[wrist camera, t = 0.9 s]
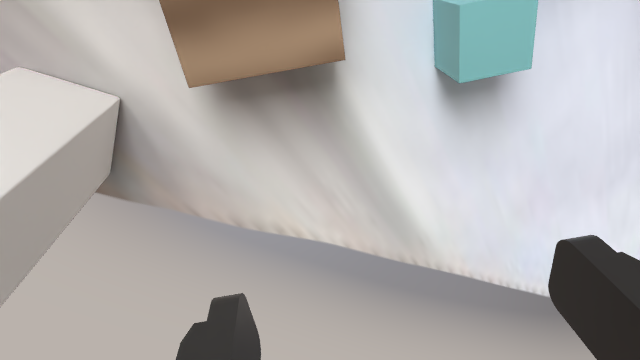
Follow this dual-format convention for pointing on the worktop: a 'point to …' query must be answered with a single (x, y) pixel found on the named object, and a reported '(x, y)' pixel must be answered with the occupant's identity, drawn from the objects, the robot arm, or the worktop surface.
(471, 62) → the teal cube
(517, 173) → the worktop surface
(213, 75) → the walnut base block
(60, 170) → the milk carton
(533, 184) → the worktop surface
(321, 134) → the worktop surface
